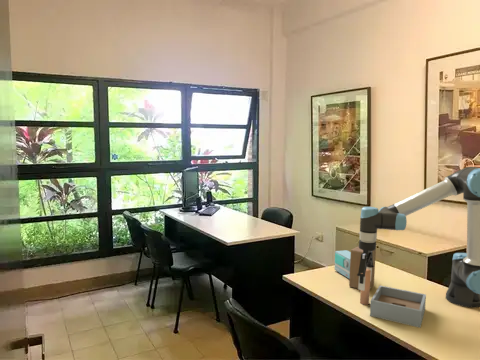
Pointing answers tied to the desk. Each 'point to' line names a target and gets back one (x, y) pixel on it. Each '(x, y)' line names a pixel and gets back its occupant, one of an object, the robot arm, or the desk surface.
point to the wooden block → (355, 267)
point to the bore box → (398, 306)
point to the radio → (343, 262)
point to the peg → (366, 289)
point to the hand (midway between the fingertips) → (364, 285)
